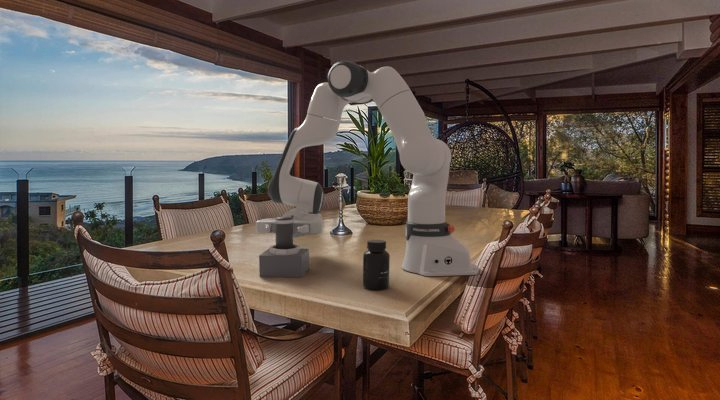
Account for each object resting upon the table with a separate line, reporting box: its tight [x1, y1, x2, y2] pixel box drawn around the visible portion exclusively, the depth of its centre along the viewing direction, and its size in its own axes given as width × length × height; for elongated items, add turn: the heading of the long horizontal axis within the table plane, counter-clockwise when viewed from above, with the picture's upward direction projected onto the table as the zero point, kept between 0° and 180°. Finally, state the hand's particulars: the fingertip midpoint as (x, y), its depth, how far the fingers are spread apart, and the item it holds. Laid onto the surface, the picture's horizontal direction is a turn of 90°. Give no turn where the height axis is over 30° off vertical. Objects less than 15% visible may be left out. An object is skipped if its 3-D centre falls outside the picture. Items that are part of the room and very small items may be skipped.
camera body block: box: [258, 243, 310, 278], centre depth 123 cm, size 12×10×8 cm
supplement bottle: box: [362, 239, 391, 291], centre depth 109 cm, size 7×7×12 cm
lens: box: [274, 216, 294, 249], centre depth 122 cm, size 5×5×10 cm
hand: (283, 230), depth 121 cm, fingers open, 8 cm apart
